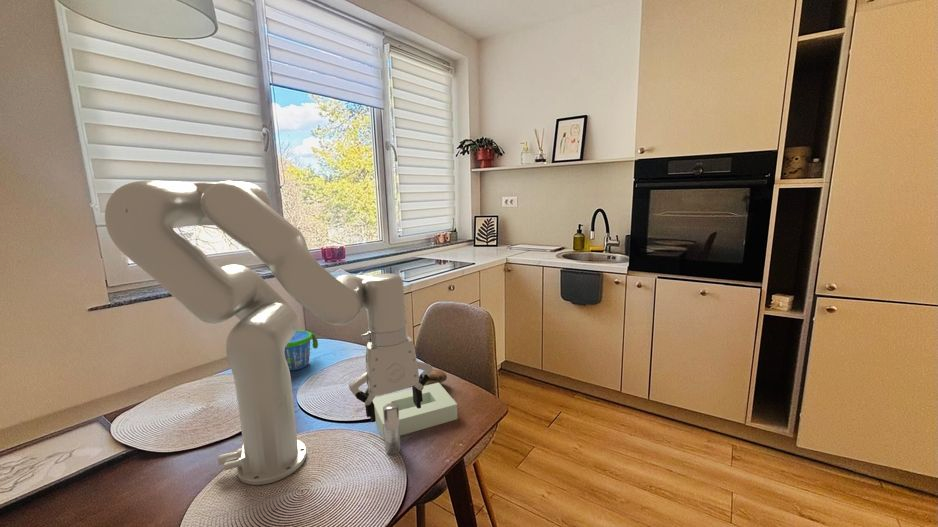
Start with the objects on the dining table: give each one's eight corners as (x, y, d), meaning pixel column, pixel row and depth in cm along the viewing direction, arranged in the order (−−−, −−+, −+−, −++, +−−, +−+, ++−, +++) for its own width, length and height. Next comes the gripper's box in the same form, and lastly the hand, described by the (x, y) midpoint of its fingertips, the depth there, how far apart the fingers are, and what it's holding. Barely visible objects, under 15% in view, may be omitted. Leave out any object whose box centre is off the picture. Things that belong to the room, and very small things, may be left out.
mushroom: (441, 388, 101) (436, 364, 104) (415, 396, 103) (411, 372, 106) (453, 389, 108) (448, 367, 111) (428, 396, 110) (424, 374, 113)
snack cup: (279, 380, 113) (276, 347, 111) (263, 370, 120) (260, 339, 118) (327, 362, 125) (325, 332, 123) (310, 354, 132) (308, 325, 130)
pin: (387, 456, 80) (385, 412, 78) (383, 447, 83) (381, 405, 81) (402, 451, 81) (400, 409, 79) (398, 443, 84) (396, 401, 82)
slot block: (383, 440, 85) (382, 424, 84) (372, 413, 96) (371, 398, 95) (457, 419, 93) (457, 404, 92) (439, 396, 103) (438, 382, 103)
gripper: (347, 351, 70) (356, 434, 74) (435, 332, 78) (440, 408, 81) (341, 337, 77) (350, 415, 80) (422, 321, 84) (428, 393, 88)
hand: (395, 411), depth 81 cm, fingers open, 9 cm apart
